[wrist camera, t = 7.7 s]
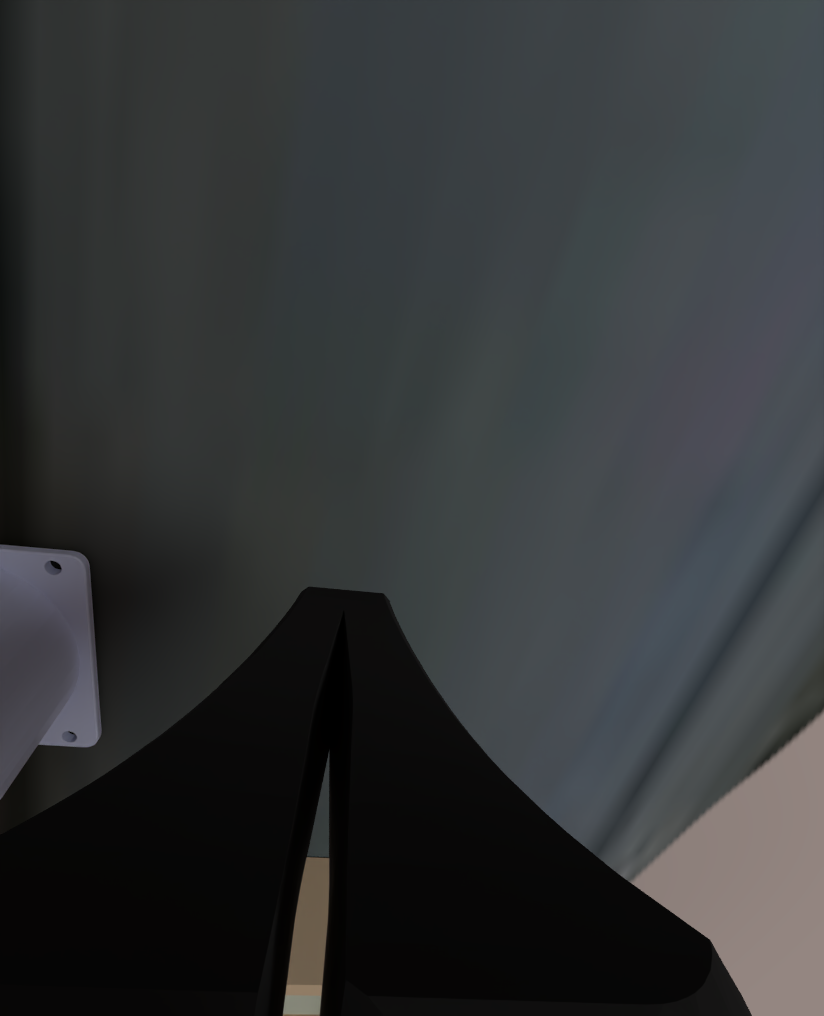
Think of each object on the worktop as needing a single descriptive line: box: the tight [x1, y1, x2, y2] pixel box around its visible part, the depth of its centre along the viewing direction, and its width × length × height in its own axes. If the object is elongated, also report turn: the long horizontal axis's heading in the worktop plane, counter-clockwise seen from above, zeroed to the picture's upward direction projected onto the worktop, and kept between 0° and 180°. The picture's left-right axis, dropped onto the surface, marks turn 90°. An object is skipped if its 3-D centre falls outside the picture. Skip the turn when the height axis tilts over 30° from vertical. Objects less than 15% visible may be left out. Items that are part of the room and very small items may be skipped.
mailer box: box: [283, 857, 329, 1016], centre depth 26 cm, size 12×10×5 cm
